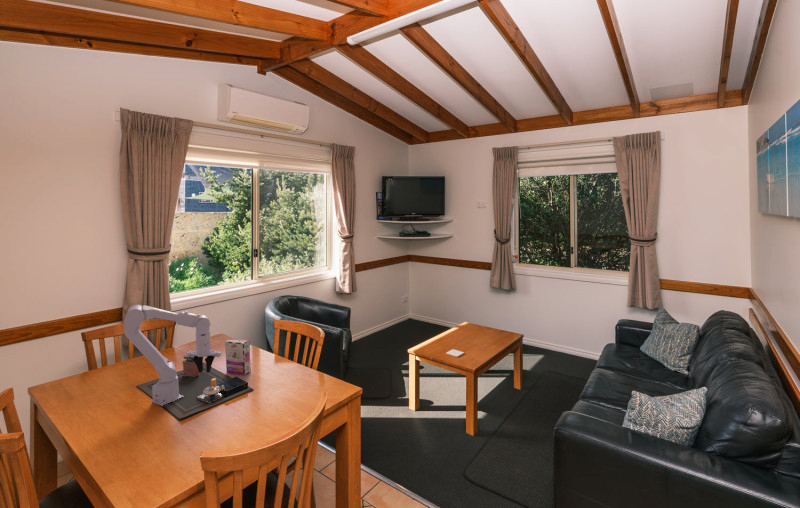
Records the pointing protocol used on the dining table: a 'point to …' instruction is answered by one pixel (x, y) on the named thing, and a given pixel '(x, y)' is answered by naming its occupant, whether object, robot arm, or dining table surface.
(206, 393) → the flange plate
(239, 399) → the dining table surface
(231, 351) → the candy bar box
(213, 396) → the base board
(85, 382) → the dining table surface
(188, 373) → the lighter
